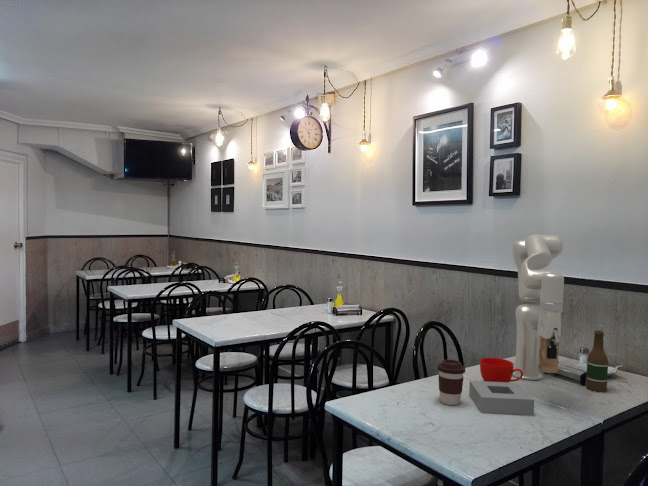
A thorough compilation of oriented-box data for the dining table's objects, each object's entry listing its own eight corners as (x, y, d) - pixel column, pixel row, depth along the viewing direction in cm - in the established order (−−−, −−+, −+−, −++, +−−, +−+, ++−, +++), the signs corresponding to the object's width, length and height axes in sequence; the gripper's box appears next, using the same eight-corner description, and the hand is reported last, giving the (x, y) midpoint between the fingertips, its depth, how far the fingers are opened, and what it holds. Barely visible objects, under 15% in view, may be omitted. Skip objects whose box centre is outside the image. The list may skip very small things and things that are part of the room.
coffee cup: (464, 408, 177) (466, 366, 176) (436, 405, 179) (438, 364, 178) (462, 398, 186) (464, 359, 186) (435, 396, 188) (437, 357, 188)
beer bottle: (611, 393, 198) (614, 333, 197) (591, 392, 198) (594, 333, 197) (600, 386, 205) (603, 329, 204) (581, 386, 206) (584, 328, 204)
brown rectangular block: (538, 368, 184) (540, 330, 183) (551, 368, 184) (554, 331, 183) (543, 372, 179) (545, 334, 178) (557, 373, 179) (559, 334, 178)
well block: (469, 394, 191) (469, 380, 191) (516, 397, 190) (517, 383, 190) (480, 412, 173) (481, 397, 173) (533, 415, 172) (534, 399, 172)
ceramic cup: (517, 396, 191) (518, 370, 190) (474, 386, 201) (475, 362, 201) (526, 388, 201) (527, 363, 201) (485, 379, 211) (486, 355, 211)
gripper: (532, 302, 189) (529, 349, 190) (549, 311, 172) (546, 362, 173) (552, 303, 188) (549, 350, 189) (571, 312, 171) (568, 363, 172)
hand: (548, 355), depth 181 cm, fingers closed on brown rectangular block, 5 cm apart
